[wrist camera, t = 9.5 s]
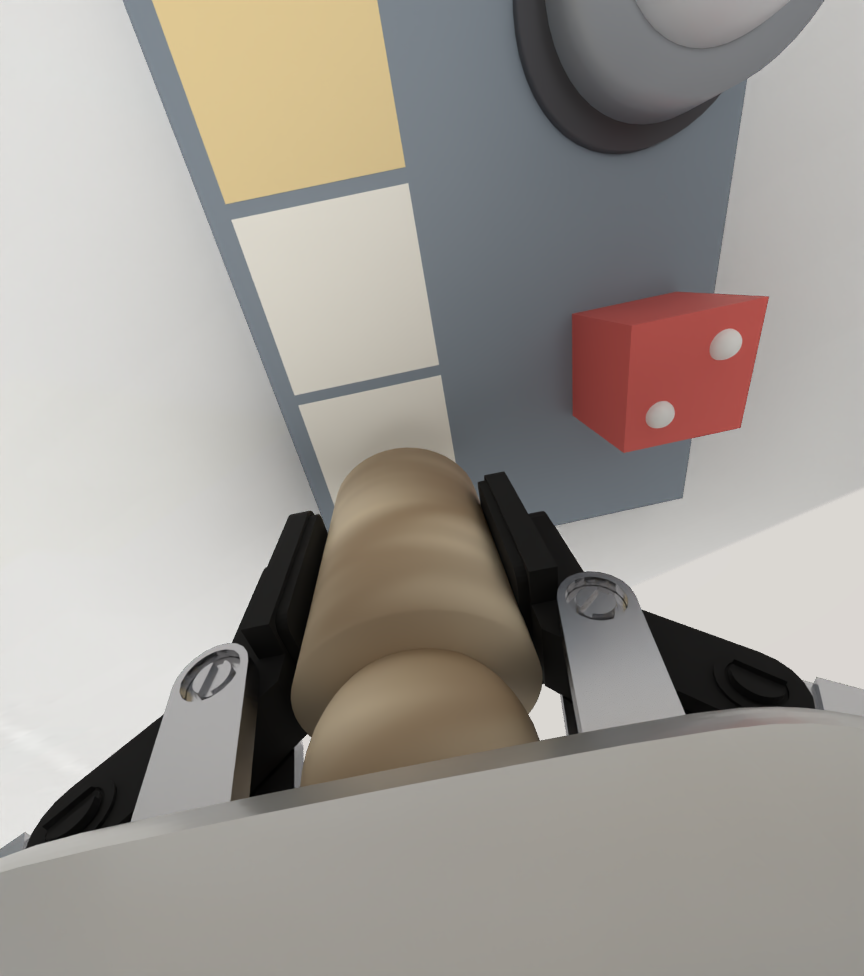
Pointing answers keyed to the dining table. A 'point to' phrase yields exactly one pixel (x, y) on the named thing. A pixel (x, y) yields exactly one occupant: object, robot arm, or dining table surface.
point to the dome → (668, 49)
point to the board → (460, 243)
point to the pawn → (411, 627)
